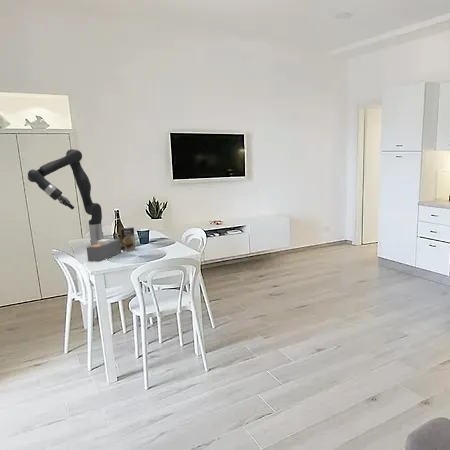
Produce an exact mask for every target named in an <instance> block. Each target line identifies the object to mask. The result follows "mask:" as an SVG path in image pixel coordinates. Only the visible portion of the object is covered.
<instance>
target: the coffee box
mask: <svg viewBox="0 0 450 450" xmlns="http://www.w3.org/2000/svg"><path fill="white" fill-rule="evenodd" d="M120 234H121V249H122V252H131V251H132V252H133V251H136V249H137V247H136V239H135V236H136V235H135V227H121V228H120Z"/></svg>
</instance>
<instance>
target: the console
mask: <svg viewBox="0 0 450 450" xmlns="http://www.w3.org/2000/svg"><path fill="white" fill-rule="evenodd" d="M116 240H117V241H114V242H110V243H109V244H106V245H103V246H101V247H98V248H94V247H90V246H88V247H87V246H86V256H87V261H88V262H103V261H104V260H106V259H108V258H111V257H113V256H116V255H118V254H120V253H122V243H121V239H116ZM95 245H98V244H95ZM92 246H93V245H92Z"/></svg>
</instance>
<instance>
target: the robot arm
mask: <svg viewBox="0 0 450 450" xmlns="http://www.w3.org/2000/svg"><path fill="white" fill-rule="evenodd" d="M82 159H83V153H82V152H81V151H80V150H78V149H73V148H72V149H68V150H67V151H66V153H65V156H62V157H60V158H58V159H54V160H52V161H49V162H47V163H46V164H43V165H41V166H40V167H39V168H38V169H29V171H28V172H27V180H28V181H29V182H30V183H36V184H37V186H38V188H40V190H42V191H44V193H45V194H46V195H48V196H49V197H50V198H51V199H53V201H57V200H58V202H59V203H60V204H62V205H63V206H65V207H68V208H70V209H71V210H74V209H75V206H74V205H73V204H71V201H70V200H69V199H68V198H67V197H65V196H63V192H62V191H61V190H60V188H58V187H56V186H55V185H53V184H52V183H51V182H50V181H48V179H46V178H45V177H46V176H49V175H50V174H52V173H54V172H56V171H59V170H60V169H62V168H65V167H67V166H70V168H71V171H72V174H73V177H74V180H75V182H76V186H77V188H78V191H79V193H80V197H81V200H82V204H83V207H84V211H85V212H86V214H87V215H89V216H91V219H89V220H88V231H89V237H90V238H89V239H90V246H92V245H95V244H97V241H99V240H102V239H105V238H104V232H103V225H102V219H103V215H102V210H103V209H102V206H101V205H100V204H99V203H98V202H93V200H92V196H91V191H92V185H91V182H90V179H89V176H88V175H87V174H86V171H85V170H84V169H83V167H82V164H81V161H82Z"/></svg>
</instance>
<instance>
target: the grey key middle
mask: <svg viewBox="0 0 450 450" xmlns="http://www.w3.org/2000/svg"><path fill="white" fill-rule="evenodd" d="M109 243H110V239H108V238H107V239H106V238H104V239H102V240H99V241H97V244H98V245H106V244H109Z"/></svg>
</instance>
